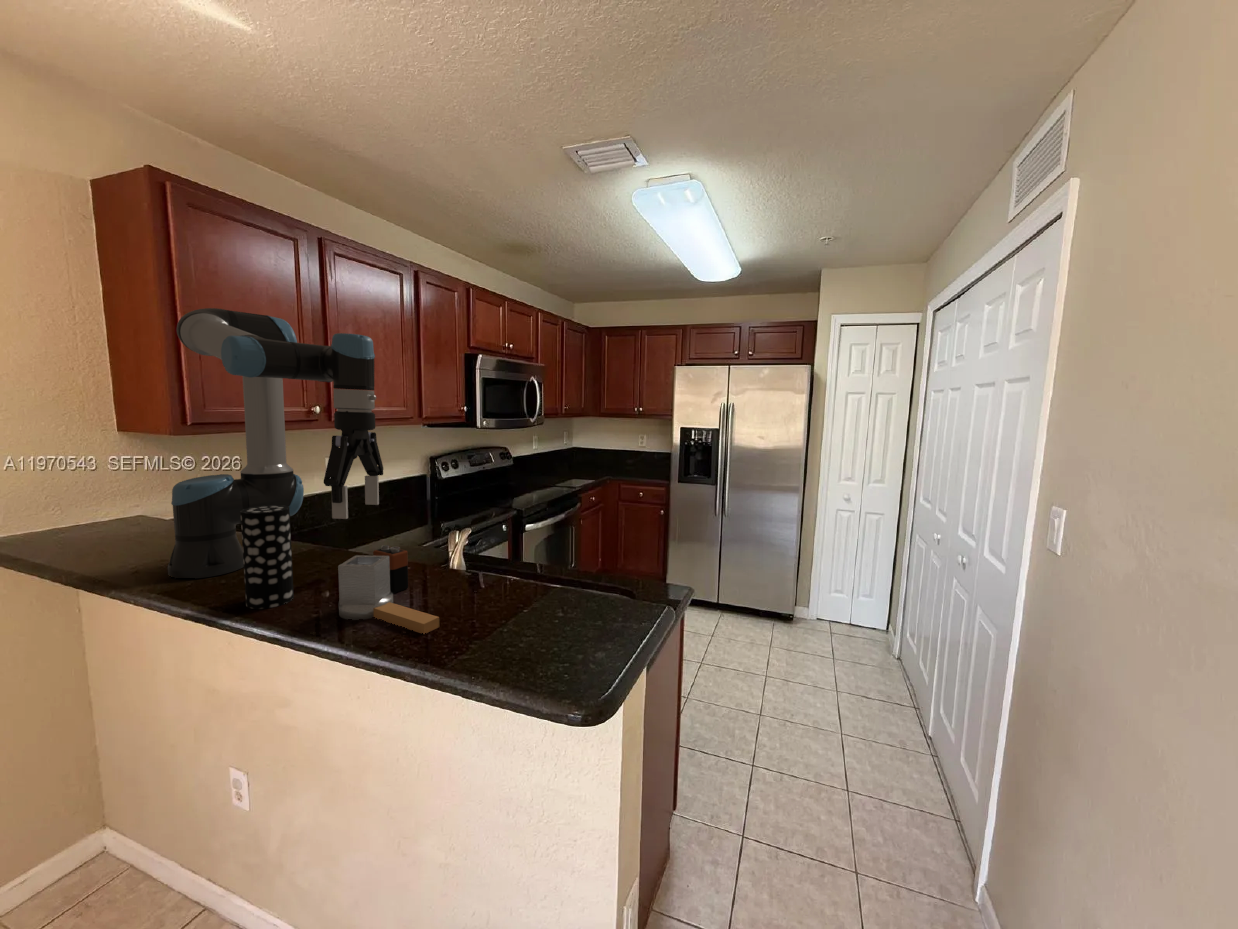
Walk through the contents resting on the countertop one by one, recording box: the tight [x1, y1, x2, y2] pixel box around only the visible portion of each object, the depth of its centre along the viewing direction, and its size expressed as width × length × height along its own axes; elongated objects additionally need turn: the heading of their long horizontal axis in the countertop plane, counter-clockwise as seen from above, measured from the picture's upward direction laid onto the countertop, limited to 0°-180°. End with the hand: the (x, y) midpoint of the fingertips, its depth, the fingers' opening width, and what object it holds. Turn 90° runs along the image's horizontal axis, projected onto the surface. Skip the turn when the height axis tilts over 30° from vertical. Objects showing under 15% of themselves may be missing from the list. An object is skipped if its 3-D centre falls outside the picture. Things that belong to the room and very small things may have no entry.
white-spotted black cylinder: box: [240, 505, 295, 610], centre depth 103 cm, size 8×8×20 cm
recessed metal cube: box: [337, 554, 390, 605], centre depth 100 cm, size 7×7×8 cm
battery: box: [372, 544, 409, 595], centre depth 113 cm, size 4×7×10 cm, turn 62°
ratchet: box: [338, 592, 440, 635], centre depth 98 cm, size 24×10×6 cm, turn 62°
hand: (357, 511), depth 104 cm, fingers open, 13 cm apart
